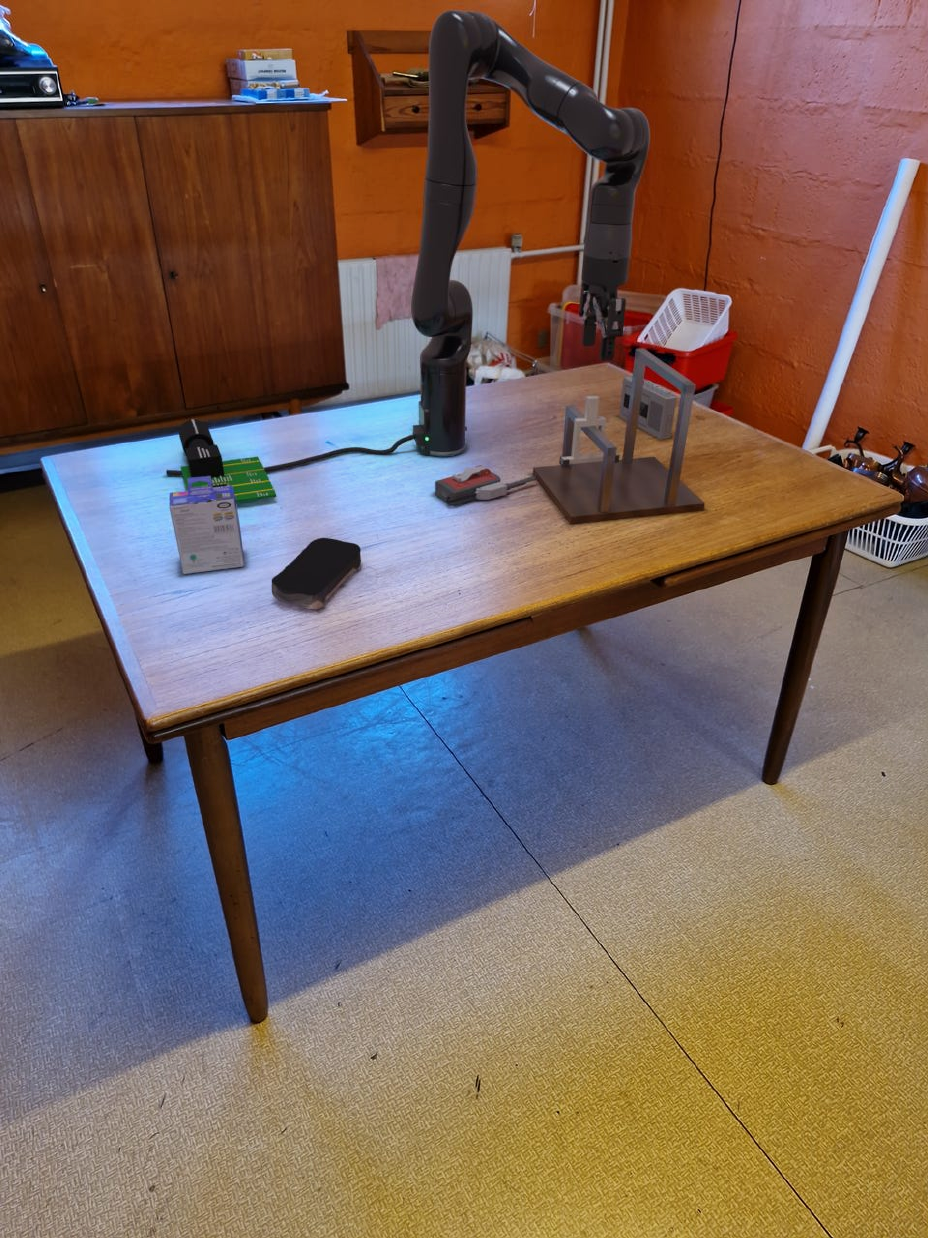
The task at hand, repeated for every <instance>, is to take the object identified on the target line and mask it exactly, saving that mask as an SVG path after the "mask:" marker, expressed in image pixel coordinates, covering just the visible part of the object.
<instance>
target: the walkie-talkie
mask: <svg viewBox="0 0 928 1238" xmlns="http://www.w3.org/2000/svg"><path fill="white" fill-rule="evenodd" d="M501 480H502V479H501V477H500V476H499V475H497V474H496V473H494V472H492V471H491V470H490V469H489V468H488V467H486V466H484V465H483V464H482V465H477V466H475V467H474V466H473V467H469V468H466V469H464V470H463V472H462V473H458V474H456V473H455V474H452V476H448V477H445V478H441V479H438V480H435V482H434V495H435V496H436V497H438V498H440V499H441V500H442V501H444V502H446V504H449V505H451V506H457V505H461V504H464V503H467V502H471V501H473V500H481V501H482V500H484V501H490V500H492V499H495V498H498V497H501V496H503V497H504V496H506V495H507V494H508V491H510V490H511V489H516V488H519V487H521V486H525V485H526V484H528V483H530V482H534V481H537V479H536V477H535V476H534V475H533V476H530V477H526V478H523V479H519V480H516V481H513V482H509V483H503V482H502V481H501Z"/></svg>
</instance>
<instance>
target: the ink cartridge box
mask: <svg viewBox="0 0 928 1238" xmlns="http://www.w3.org/2000/svg"><path fill="white" fill-rule="evenodd" d="M187 481H188V491H187V490H182V491H175V492H169V503H168V504H169V507H168V508H169V512H170V516H171V522H172V527H173V532H174V537H175V540H176V541H175V542H176V547H177V551H178V556H179V562H180V567H181V573H182V575H189V574H195V573H203V572H209V571H211V572H212V571H218V570H227V569H234V568H242V567H245V557H244V548H243V538H242V532H241V524H240V518H239V512H238V506H237V503H236V500H235V495H234V491H233V487H232V485H230V486H222V487H214V488H213V486H212V481H211V476H203V477H192V478H187ZM199 481H203V482H207V483H208V486H203V487H192V486H191V485H192V484H193V483H195V482H199Z"/></svg>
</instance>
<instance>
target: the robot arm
mask: <svg viewBox="0 0 928 1238" xmlns="http://www.w3.org/2000/svg"><path fill="white" fill-rule="evenodd" d="M479 79H483V80H485V81H490V82H493V83H496V84H498V85H501V86H503V87H505V88H506V89H509V90H510V91H512V92H513V93H514V94H515V95H517V97H518V98H519V99H520V100H521V101H522V102H523V104H524V105H525V106H526V108H527V109H529V110H530V111H531V113H532V114H534V115H535V116H536V117H538V118H539V119H540V120H542V121H543V122H545V123H547V124H548V125H550V126H551V127H553V128H555V129H557V130H558V131H559V132H561V133H563V134H565V135H567V136H568V137H569V138H570V139H571V140H572V141H573V142H574V143H575V144H576V145H577V147H579V148H580V149H581V150H582V151H583V152H584V153H585V154H586V155H587V156H589V157H591V158H593V159H594V160H597V161H598V162H602V163H605V165H604V169H603V173H602V175H601V176H600V178H599V179H598V180H596V181H595V182H594V183H593V184H592V186H591V189H590V194H589V203H588V216H587V224H586V225H587V226H586V229H585V234H584V243H583V244H584V245H583V256H582V266H581V267H582V268H581V288H580V295H579V297H580V298H579V304H578V305H579V306H578V317H579V318H581V323H582V326H583V327H582V337H581V345H582V346H583V347H593V346H595V344H596V335H597V327H598V326H599V327H600V330H601V340H600V349H599V359H600V360H601V361H603V362H606V361H612V360H613V359H614V357H615V355H614V354H615V346H616V339H617V338H621V337H623V336H624V329H625V317H626V306H627V300H626V298H625V297H618V288H619V287H620V286H623V285H626V284H627V282H628V278H629V269H630V262H631V261H630V260H631V252H632V251H631V250H632V243H633V220H634V211H635V203H636V202H635V201H636V193H637V189H638V187H639V186H638V185H639V183H640V180H641V178H642V174H643V170H644V168H645V164H646V161H647V157H648V153H649V149H650V148H649V147H650V141H651V129H650V123H649V120H648V118H647V116H646V115H645V113H643V112H642V111H641V110H640V109H638V108H635V107H619V108H613V107H611V106H608V105H606V104H604V103H603V102H601V101H600V100H599V98H598V95H597V93H596V92H595V91H594V89H592V88H591V87H589V86H588V85H587V84H586V83H584V82H581V81H580V80H578V79H576V78H574V77H573V76H571V75H570V74H568V73H566V72H564V71H563V70H561V69H559V68H557V67H555V66H554V65H553V64H550V63H549V62H547V61H545V60H543V59H542V58H540V57H539V56H537V55H536V54H535V53H533V52H532V51H530V50H529V49H528V48H526V47H525V46H524V45H523V44H521V43H520V42H519V41H518V40H516V39H515V38H514V37H513V36H512V35H511V34H510V33H509V32H508V31H507V30H506V29H504V28H503V26H501V25H500V24H499V23H498V22H497V21H496V20H494V19H493V18H492V17H491V16H489V15H488V14H487V13H484V12H481V11H474V10H473V11H472V10H461V9H460V10H459V9H450V10H445V11H443V12H441V14H440V15H438V16H437V18H436V19H435V21H434V23H433V25H432V29H431V32H430V37H429V43H428V103H429V104H428V109H429V111H428V128H427V129H428V131H427V148H426V162H425V172H424V183H423V198H422V199H423V203H422V217H421V218H422V219H421V228H420V238H419V249H418V257H417V263H416V270H415V277H414V282H413V286H412V287H413V288H412V293H411V301H410V312H411V313H410V314H411V319H412V322H413V324H414V327H415V328H416V330H417V332H418V333H420V334H421V335H422V336H424V337H426V338H430V341H429V342H428V344H427V345H426V347H424V348H423V350H422V351H421V353H420V356H419V370H420V371H419V372H420V373H419V374H420V375H419V376H420V377H419V378H420V400H419V401H418V403H417V404H418V405H417V406H418V424H413V425H412V434H410V435H407V436H405V437H403V438H400V439H399V440H397V441H395V443H394V444H393V445H392V446H391V447H389V448H386V449H373V448H369V447H362V446H351V447H350V446H349V447H343V448H338V449H335V450H332V451H331V450H330V451H328V452H325V453H321V454H316V455H314V456H313V455H312V456H309V457H305V458H302V459H298V460H295V461H294V460H293V461H290V462H285V463H280V464H274V465H271V466H263V468H264V470H265V472H266V473H270V472H276V471H280V470H286V469H289V468H294V467H298V466H301V465H302V466H303V465H305V464H309V463H313V462H317V461H320V460H324V459H328V458H331V457H335V456H337V455H342V454H348V453H364V454H370V455H378V456H385V455H389V454H392V453H394V452H395V451H396V450H397V449H398V447H400V446H401V445H403V444H405V443H408V442H410V441H414V443H415V444H416V446H417V447H420V450H421V452H422V453H423V455H424V456H434V457H452V456H453V457H454V456H457V455H460V454H462V453H464V452H465V451H466V447H467V444H466V432H467V431H468V430H467V429H468V427H467V426H466V416H467V415H466V411H467V410H466V409H467V408H466V407H467V403H466V402H467V360H468V358H469V355H470V352H471V347H472V334H473V316H474V309H473V301H472V296H471V294H470V292H469V290H468V288H467V287H466V286H465V285H464V283H462V282H461V281H458V280H456V279H451V273H452V266H453V263H454V260H455V256H456V254H457V251H458V250H459V247H460V245H461V243H462V242H463V241H462V240H463V239H464V236H465V235H466V232H467V230H468V228H469V226H470V224H471V221H472V218H473V215H474V211H475V205H476V198H477V197H476V196H477V188H478V187H477V186H478V174H479V173H478V172H479V171H478V163H477V162H478V161H477V158H476V154H475V150H474V148H473V147H474V146H473V143H472V141H471V136H470V134H469V130H468V129H469V128H468V125H467V116H466V115H467V99H468V98H467V97H468V86H469V80H470V81H471V80H473V81H474V80H479ZM417 447H416V448H417ZM166 476H176V477H177V476H178V477H180V476H181V477H183V475H182V472H181V470H177V469H174V470H173V469H166Z"/></svg>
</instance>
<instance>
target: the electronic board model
mask: <svg viewBox="0 0 928 1238" xmlns="http://www.w3.org/2000/svg"><path fill="white" fill-rule="evenodd" d="M178 437H179V440H180V444H181V447H182V450H183V453H184V456H185V457H186V461H187V465H183V466H179V467H180V471H181V472H182V475H183V476H182V479H183V482H184V485H185V489H186V491H188V481H187V478H192V477H203V476H211V481H212V486H213V488H214V487H222V486H230V485H232V487H233V491H234V495H235V500H236V504H238V503H243V502H244V503H245V502H252V501H258V500H265V499H273V498H277V493H276V491H275V488H274V487H273V485H272V482H271V480H270V479H269V476H268V474H267V472H265V470H264V466H263V463H262V461H261V460H260V458H259V456H252V457H251V456H250V457H244V458H243V457H242V458H236V459H235V458H234V459H229V460H228V459H227V460H223V457H222V456H223V455H222V453H221V451H220V448H219V446H218V444H215V442H214V439H213V436H212V434H211V432H210V429H209V427H208V425H207V424H206V423H205V422H203V421H202V420H200V419H193V418H192V419H188V420H186V421H184V422H183V423H182V424H181V425H180V427H179V430H178ZM191 486H192V487H203V486H208V483H207V482H203V481H199V482H195V483H193V484H192V485H191Z"/></svg>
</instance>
